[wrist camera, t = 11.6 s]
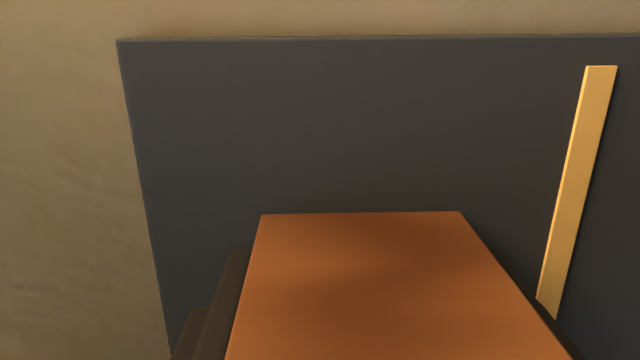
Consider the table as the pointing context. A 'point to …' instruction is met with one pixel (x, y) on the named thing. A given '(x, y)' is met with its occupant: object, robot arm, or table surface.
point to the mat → (400, 154)
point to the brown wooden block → (382, 293)
